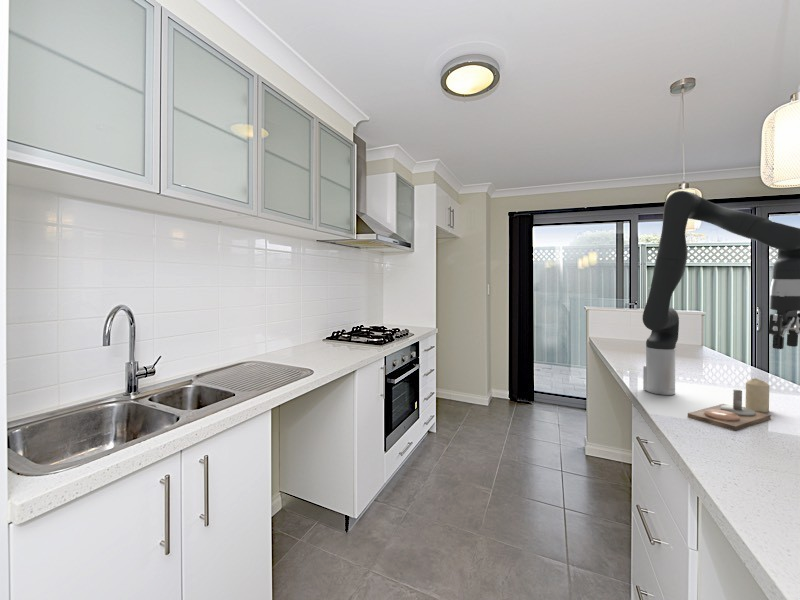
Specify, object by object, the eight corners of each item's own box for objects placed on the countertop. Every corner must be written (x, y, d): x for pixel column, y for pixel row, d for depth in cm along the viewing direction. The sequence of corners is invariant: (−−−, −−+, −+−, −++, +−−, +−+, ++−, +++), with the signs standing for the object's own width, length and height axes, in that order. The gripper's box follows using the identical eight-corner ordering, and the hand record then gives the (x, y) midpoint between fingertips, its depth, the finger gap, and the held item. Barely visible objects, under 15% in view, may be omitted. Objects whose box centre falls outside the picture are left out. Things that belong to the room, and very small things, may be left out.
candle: (773, 412, 117) (774, 381, 116) (753, 411, 118) (754, 381, 117) (760, 407, 122) (761, 377, 122) (741, 406, 123) (741, 377, 123)
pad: (698, 414, 113) (698, 411, 113) (713, 410, 117) (713, 407, 116) (730, 422, 106) (730, 420, 106) (745, 418, 109) (745, 415, 109)
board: (687, 416, 114) (687, 391, 114) (723, 407, 122) (723, 383, 122) (735, 430, 103) (735, 402, 103) (770, 418, 111) (771, 393, 111)
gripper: (783, 293, 116) (780, 343, 117) (759, 294, 110) (756, 347, 111) (817, 294, 109) (813, 347, 110) (793, 295, 104) (790, 351, 105)
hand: (785, 347), depth 111 cm, fingers open, 8 cm apart
